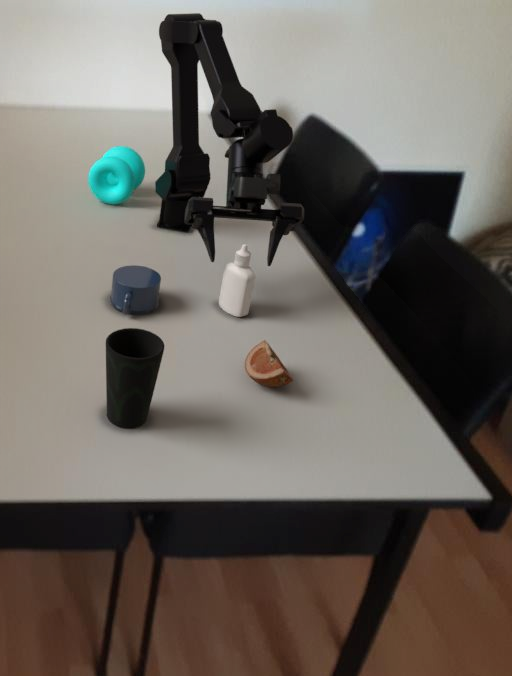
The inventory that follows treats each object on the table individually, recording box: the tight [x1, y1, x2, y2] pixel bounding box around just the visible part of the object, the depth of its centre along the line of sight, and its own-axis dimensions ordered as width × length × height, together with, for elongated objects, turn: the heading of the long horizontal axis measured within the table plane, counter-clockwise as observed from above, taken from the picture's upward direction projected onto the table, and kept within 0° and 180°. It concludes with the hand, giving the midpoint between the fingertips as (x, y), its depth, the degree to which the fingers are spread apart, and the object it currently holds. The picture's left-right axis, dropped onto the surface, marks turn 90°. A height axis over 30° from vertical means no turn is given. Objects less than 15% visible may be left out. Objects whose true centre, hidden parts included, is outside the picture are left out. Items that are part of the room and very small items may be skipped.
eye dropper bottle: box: [218, 243, 256, 318], centre depth 139 cm, size 4×6×12 cm
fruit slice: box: [244, 339, 294, 387], centre depth 124 cm, size 8×7×5 cm
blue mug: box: [109, 264, 162, 316], centre depth 142 cm, size 10×8×5 cm
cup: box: [105, 327, 165, 430], centre depth 114 cm, size 8×8×12 cm
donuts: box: [88, 145, 146, 205], centre depth 178 cm, size 10×10×10 cm
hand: (241, 263), depth 139 cm, fingers open, 9 cm apart
